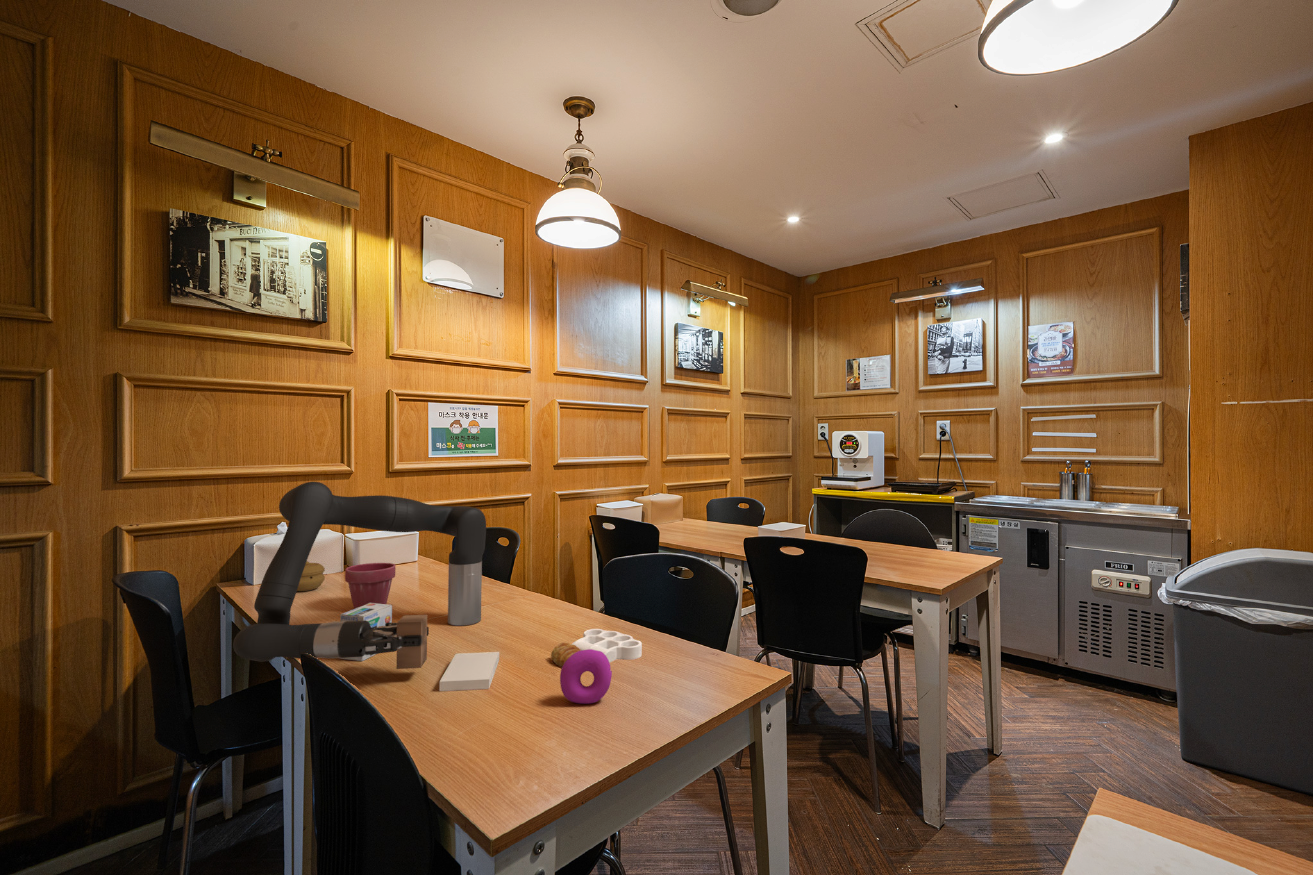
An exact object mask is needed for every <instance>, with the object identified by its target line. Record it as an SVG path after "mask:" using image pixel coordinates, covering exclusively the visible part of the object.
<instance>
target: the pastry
mask: <svg viewBox="0 0 1313 875" xmlns="http://www.w3.org/2000/svg"><path fill="white" fill-rule="evenodd" d="M578 651H581V650H580V649H579V648H578V647H577V646H575V645H571V644H570V643H569V642H561V643H559V644H557V645H556V646H555V647H554V648H553V649H552V651H551V654H550V656H551V660H552V662H554V664H556V665H557V666H559V667H561V668H562V667H563V665H564V663H565V662H566V661H567V659H568V658H569V657H570V656H572V655H573V654H574V653H576V652H578Z"/></svg>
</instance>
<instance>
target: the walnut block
mask: <svg viewBox="0 0 1313 875" xmlns="http://www.w3.org/2000/svg"><path fill="white" fill-rule="evenodd" d="M396 623H397V635H402V636H404V635H421V636H422V644H421V645H420V646H409V647H402V648H400V649H397V651H396V666H395V667H396V668H395V669H396V670H402V669H403V670H404V669H406V670H407V669H421V668H422V667H423V665H424V664H425V662H426V661H427V659H428V636H427V627H428V614H412V615H411V614H407V615H403V616H402V617H401V618H399V620H398V621H397V622H396Z"/></svg>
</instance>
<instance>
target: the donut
mask: <svg viewBox="0 0 1313 875" xmlns="http://www.w3.org/2000/svg"><path fill="white" fill-rule="evenodd" d="M587 672H589V673H591V674H592V675H593V681H592V682H591V684H590V685H588V686H587V685H586V686H585V685H583V683H582V681H581V677H582V675H583V674H584V673H587ZM612 672H613V671H612V670H611V662H610V663H609V660H608V658H607V657H606V655H605V654H604V653H603V652H601V651H597V650H592V649H587V650H582V651H578V652H576V653H574V654H573V655H572V656H570V657H569V658H568V659H567V661H566V662H565V663H564V665H563V667H561V670H560V674H559V681H560V682H559V683H560V689H561V692H562V694H563V696H564V698H566V699H567V700H568V701H569V702H571V703H576V704H594V703H597V702H599V701H601V700H602V699H603V697H604V696H605V695H606V694H607V692H608V691H609V688H610V686H611V682H612V677H613V674H612Z"/></svg>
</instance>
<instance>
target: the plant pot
mask: <svg viewBox="0 0 1313 875" xmlns="http://www.w3.org/2000/svg"><path fill="white" fill-rule="evenodd" d="M344 571H345V572H344V581H345V582H346V583H347V584H348V588H349V594H350V597H351V598H350V599H351V601H352V602H351V603H352V605H353V609H356V608H358V607H361V606H364V605H366V604H369V603H376V604H387V603H388V599H389V596H390V590H391V586H392V582H393V579H394V578H396V564H395V563H392V562H371V563H369V562H368V563H362V564H356V565H350V566H348V567H346V568H345V570H344Z"/></svg>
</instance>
